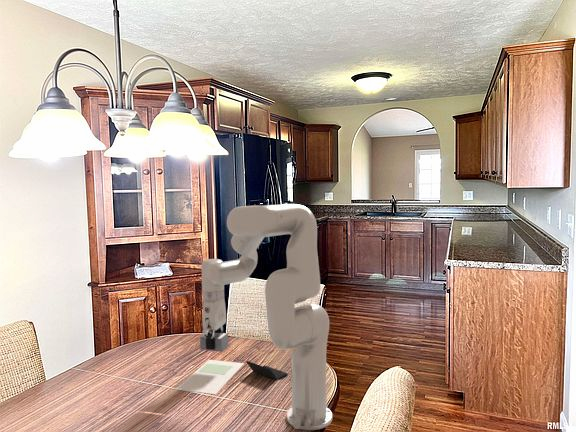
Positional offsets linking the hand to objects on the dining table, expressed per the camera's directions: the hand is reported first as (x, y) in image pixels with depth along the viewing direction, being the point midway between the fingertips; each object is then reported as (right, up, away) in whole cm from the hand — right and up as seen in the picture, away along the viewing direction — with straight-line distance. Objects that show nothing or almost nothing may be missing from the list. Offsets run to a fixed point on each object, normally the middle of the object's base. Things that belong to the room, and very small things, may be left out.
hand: (214, 345), depth 151 cm
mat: (0, -9, -5) cm, 10 cm away
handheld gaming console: (+19, -9, -5) cm, 21 cm away
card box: (0, -1, 0) cm, 1 cm away
